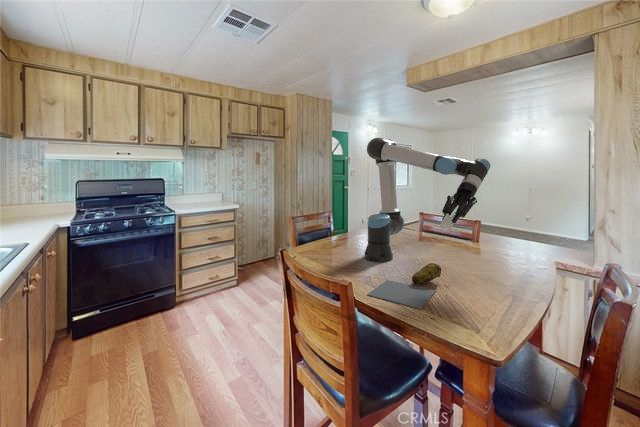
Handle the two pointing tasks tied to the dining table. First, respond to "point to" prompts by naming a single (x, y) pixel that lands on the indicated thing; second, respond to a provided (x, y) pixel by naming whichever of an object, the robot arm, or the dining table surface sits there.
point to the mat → (402, 294)
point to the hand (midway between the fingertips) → (444, 227)
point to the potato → (427, 274)
